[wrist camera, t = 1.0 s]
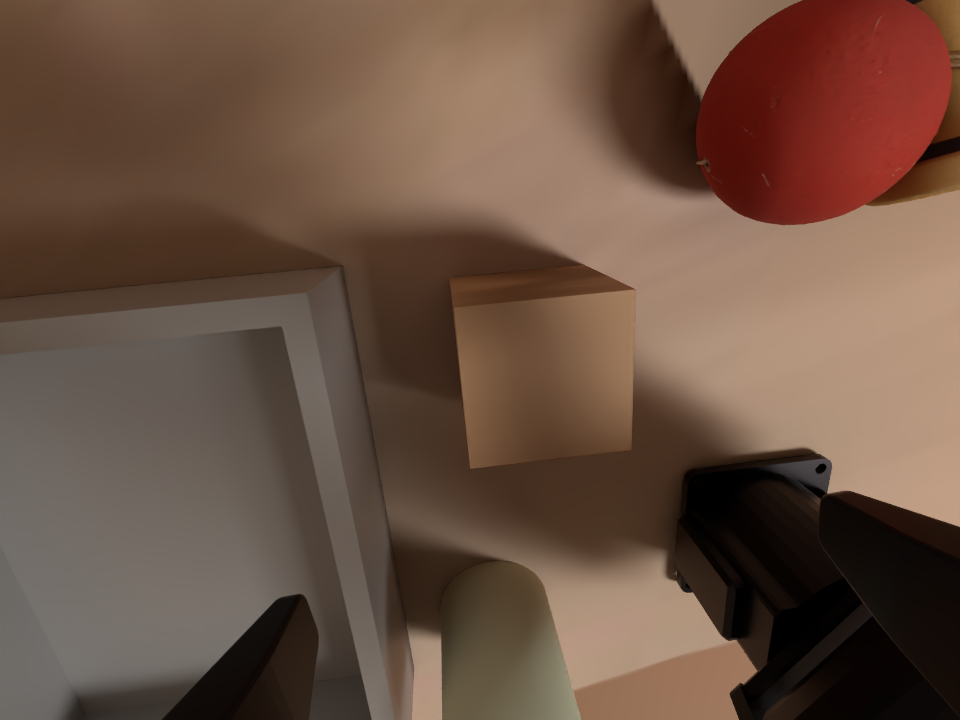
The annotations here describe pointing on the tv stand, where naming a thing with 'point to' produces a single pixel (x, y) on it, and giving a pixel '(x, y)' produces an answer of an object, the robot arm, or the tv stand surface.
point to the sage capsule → (502, 648)
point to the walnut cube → (544, 363)
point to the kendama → (835, 110)
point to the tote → (189, 495)
